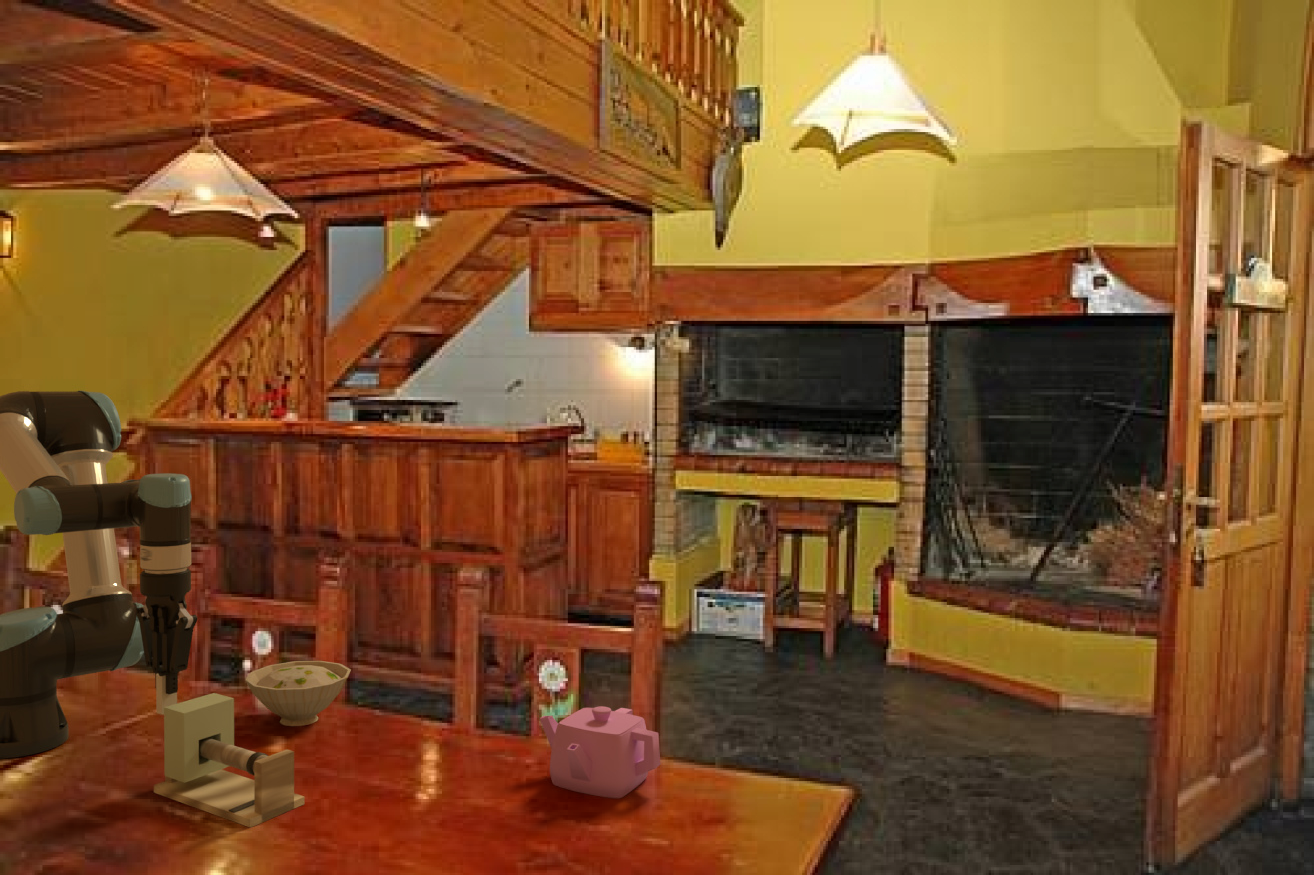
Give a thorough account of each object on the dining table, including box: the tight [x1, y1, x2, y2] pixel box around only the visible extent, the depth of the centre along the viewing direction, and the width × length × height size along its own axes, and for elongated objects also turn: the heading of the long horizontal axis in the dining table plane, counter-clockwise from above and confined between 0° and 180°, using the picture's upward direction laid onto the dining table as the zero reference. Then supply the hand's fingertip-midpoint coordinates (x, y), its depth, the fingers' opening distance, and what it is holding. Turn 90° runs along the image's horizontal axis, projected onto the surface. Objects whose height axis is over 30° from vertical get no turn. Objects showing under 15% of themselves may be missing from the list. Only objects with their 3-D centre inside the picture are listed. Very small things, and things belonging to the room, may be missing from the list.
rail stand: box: [153, 738, 305, 828], centre depth 164 cm, size 23×10×9 cm, turn 60°
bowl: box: [245, 660, 352, 727], centre depth 200 cm, size 19×19×10 cm
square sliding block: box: [163, 692, 235, 783], centre depth 167 cm, size 5×9×11 cm, turn 150°
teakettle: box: [539, 705, 661, 799], centre depth 174 cm, size 17×17×12 cm
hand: (166, 711), depth 171 cm, fingers closed
